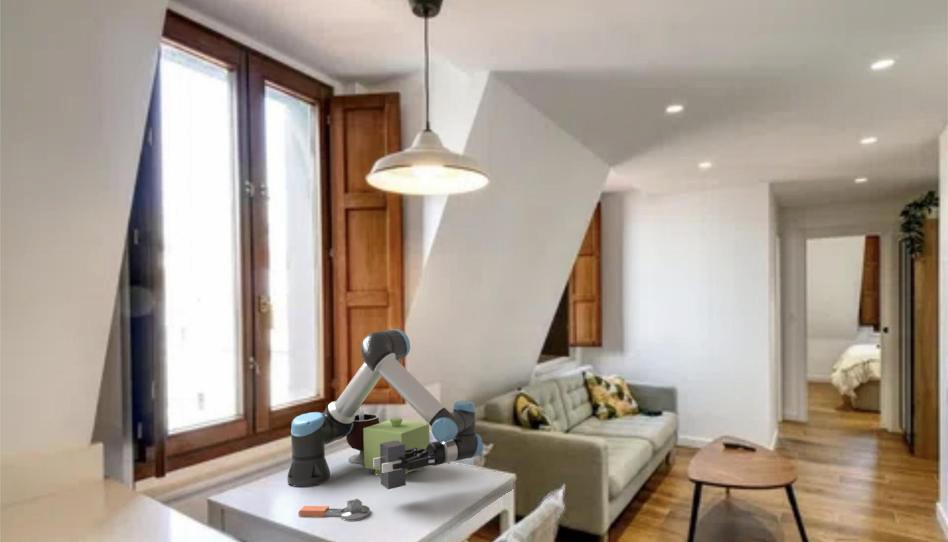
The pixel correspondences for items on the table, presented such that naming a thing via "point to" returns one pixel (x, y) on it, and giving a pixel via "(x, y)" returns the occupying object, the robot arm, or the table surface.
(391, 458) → the dark grey block
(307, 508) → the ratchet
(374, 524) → the table surface
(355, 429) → the mate gourd
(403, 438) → the container
